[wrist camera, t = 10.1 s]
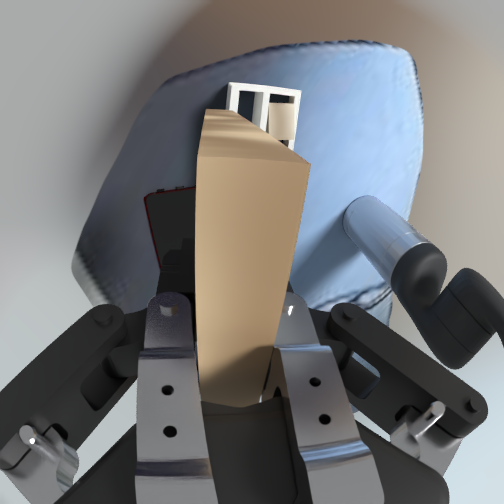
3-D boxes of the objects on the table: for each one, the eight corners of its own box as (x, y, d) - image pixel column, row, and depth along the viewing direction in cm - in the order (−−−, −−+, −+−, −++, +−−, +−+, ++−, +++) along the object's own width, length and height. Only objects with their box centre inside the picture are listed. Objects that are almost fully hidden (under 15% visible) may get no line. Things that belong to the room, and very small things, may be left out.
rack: (295, 90, 38) (310, 91, 32) (282, 181, 45) (294, 197, 39) (228, 83, 36) (232, 81, 30) (220, 178, 43) (222, 193, 38)
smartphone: (218, 182, 43) (232, 306, 56) (218, 179, 44) (232, 301, 57) (141, 193, 42) (172, 312, 55) (143, 190, 43) (172, 307, 56)
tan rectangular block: (232, 110, 18) (310, 164, 4) (221, 248, 24) (247, 442, 10) (206, 109, 18) (197, 156, 4) (199, 247, 23) (205, 444, 10)
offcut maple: (288, 103, 36) (294, 104, 33) (288, 136, 39) (294, 139, 36) (264, 103, 36) (268, 103, 33) (265, 136, 38) (269, 140, 36)
